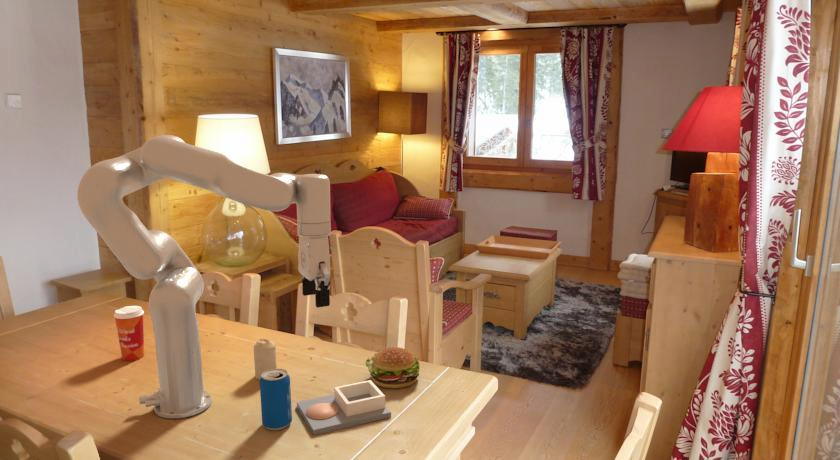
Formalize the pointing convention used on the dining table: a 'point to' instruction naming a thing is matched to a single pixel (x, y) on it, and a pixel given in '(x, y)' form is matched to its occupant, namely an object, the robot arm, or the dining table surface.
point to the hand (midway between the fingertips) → (315, 300)
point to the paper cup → (130, 332)
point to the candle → (264, 357)
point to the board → (345, 407)
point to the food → (393, 367)
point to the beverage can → (275, 399)
